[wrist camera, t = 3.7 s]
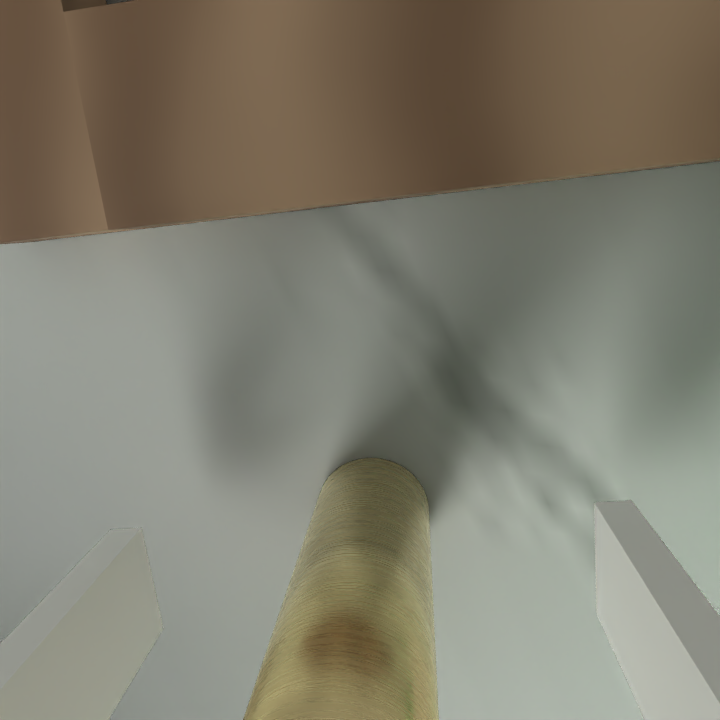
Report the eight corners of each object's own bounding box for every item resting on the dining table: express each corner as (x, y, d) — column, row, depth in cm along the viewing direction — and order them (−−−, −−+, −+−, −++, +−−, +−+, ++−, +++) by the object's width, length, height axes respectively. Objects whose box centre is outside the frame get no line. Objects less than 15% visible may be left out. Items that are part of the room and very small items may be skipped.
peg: (325, 560, 16) (106, 1410, 5) (311, 461, 16) (15, 1172, 4) (433, 556, 16) (482, 1458, 4) (423, 454, 15) (453, 1206, 4)
